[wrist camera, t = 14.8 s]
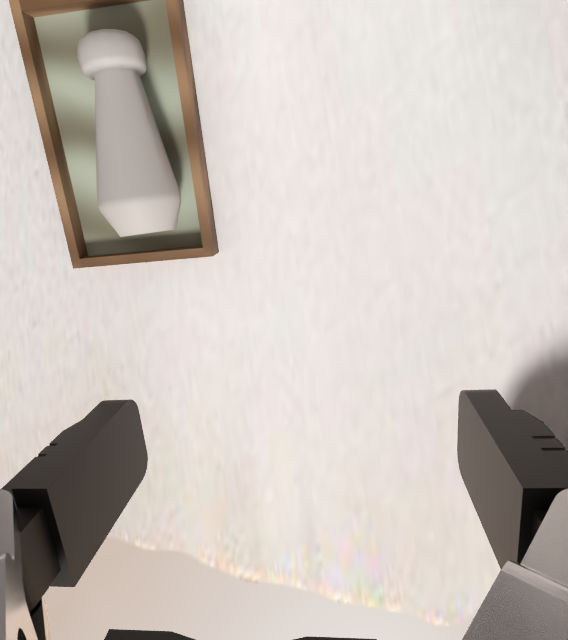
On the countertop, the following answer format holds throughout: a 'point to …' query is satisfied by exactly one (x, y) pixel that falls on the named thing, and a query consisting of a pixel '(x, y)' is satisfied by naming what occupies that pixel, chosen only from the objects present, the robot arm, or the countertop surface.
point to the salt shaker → (127, 138)
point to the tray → (80, 130)
